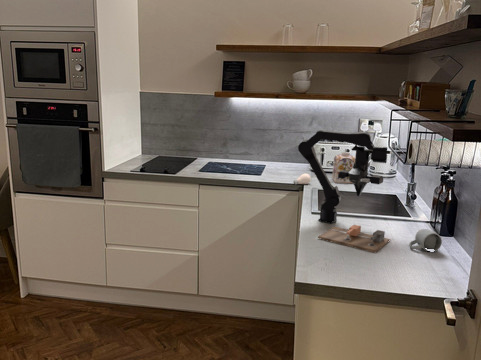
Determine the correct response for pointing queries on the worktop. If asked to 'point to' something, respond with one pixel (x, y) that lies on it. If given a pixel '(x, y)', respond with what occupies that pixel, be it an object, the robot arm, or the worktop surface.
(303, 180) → the light bulb
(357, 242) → the board
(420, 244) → the ceramic mug
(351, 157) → the decorative jar
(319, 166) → the robot arm
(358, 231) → the block
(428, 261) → the worktop surface
